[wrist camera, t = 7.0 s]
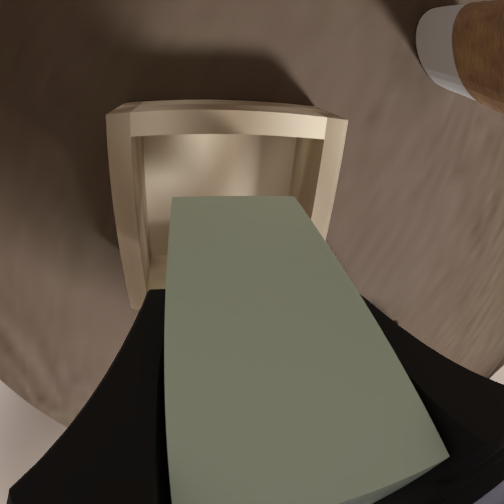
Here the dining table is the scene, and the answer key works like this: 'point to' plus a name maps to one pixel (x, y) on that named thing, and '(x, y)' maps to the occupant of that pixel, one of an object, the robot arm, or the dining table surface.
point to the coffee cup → (465, 50)
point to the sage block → (279, 366)
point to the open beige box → (212, 167)
